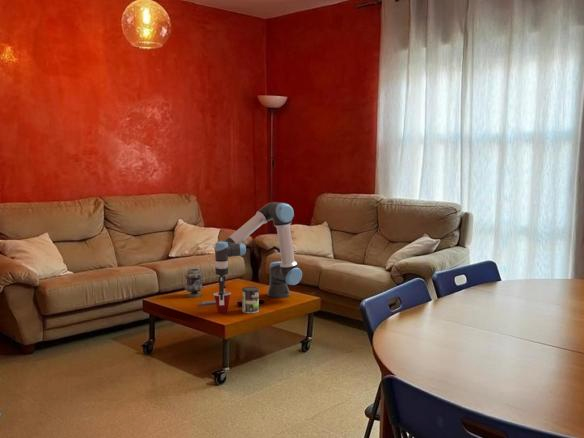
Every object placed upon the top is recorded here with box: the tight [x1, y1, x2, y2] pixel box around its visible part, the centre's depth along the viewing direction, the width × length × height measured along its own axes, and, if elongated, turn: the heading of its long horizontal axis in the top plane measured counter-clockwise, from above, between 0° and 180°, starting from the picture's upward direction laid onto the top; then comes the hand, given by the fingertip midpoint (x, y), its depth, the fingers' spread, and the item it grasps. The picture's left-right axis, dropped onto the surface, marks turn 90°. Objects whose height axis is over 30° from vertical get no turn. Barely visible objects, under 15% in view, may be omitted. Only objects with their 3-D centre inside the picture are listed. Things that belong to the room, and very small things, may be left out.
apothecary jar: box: [184, 268, 204, 298], centre depth 371 cm, size 12×12×18 cm
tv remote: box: [198, 300, 216, 307], centre depth 352 cm, size 15×4×2 cm, turn 114°
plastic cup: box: [213, 291, 232, 314], centre depth 333 cm, size 11×11×12 cm
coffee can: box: [241, 286, 260, 314], centre depth 335 cm, size 10×10×14 cm
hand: (222, 302), depth 333 cm, fingers open, 13 cm apart
